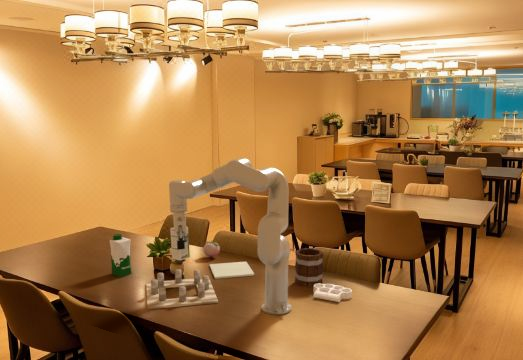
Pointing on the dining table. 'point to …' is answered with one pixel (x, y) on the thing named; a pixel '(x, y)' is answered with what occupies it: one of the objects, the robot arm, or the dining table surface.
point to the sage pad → (231, 270)
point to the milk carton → (120, 255)
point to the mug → (308, 267)
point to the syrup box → (176, 253)
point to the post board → (175, 301)
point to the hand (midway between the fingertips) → (180, 246)
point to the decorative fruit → (211, 249)
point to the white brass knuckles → (331, 292)
